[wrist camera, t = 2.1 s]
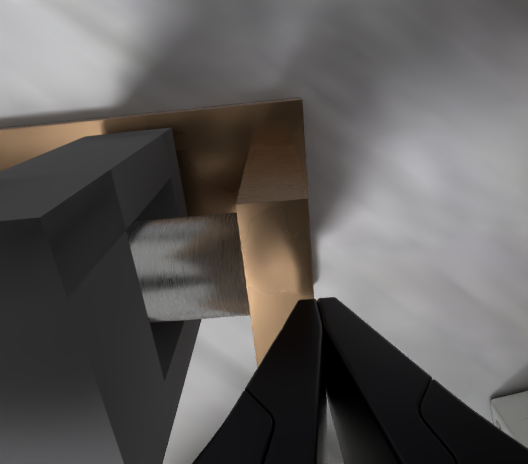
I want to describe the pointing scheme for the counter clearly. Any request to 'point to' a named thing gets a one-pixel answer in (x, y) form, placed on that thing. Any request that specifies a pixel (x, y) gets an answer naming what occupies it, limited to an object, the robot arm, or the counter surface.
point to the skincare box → (512, 415)
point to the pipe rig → (214, 211)
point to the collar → (87, 305)
